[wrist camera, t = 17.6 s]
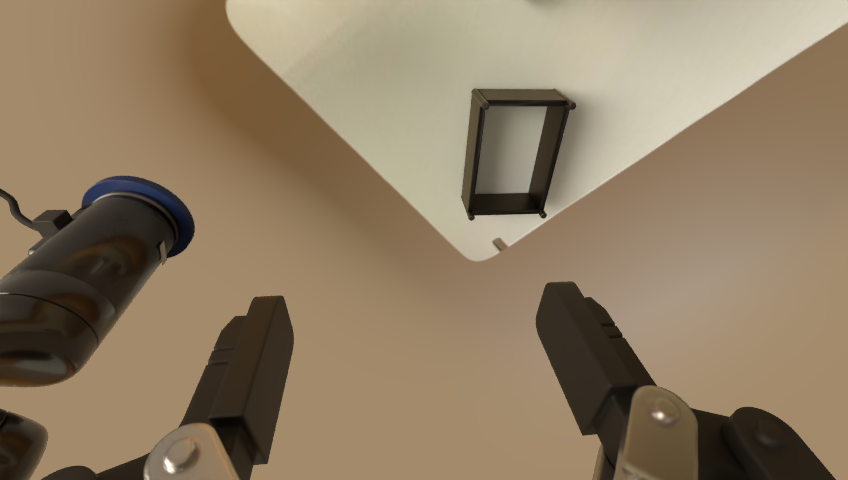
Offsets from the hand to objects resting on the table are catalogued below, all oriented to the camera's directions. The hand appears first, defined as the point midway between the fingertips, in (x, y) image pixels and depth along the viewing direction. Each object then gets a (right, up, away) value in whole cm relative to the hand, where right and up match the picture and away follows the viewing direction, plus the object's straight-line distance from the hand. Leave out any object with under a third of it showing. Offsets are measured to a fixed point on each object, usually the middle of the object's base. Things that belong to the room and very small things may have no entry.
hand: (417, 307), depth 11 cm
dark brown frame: (+10, +13, +31) cm, 35 cm away
